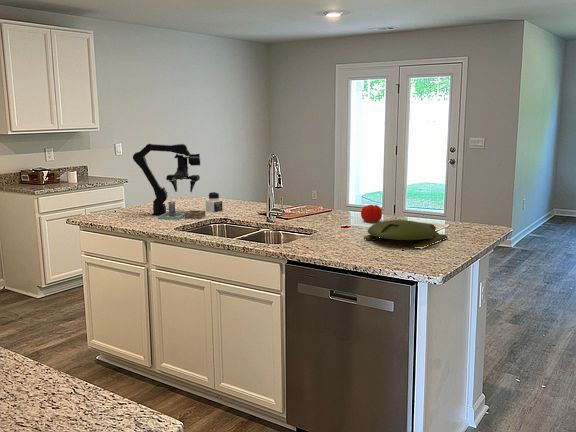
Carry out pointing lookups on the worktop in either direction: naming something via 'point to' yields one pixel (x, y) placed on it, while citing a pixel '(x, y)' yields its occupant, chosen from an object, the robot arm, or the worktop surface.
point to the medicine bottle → (214, 203)
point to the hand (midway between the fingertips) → (183, 192)
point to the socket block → (194, 214)
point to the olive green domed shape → (405, 231)
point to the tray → (165, 216)
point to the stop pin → (171, 209)
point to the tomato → (371, 213)
